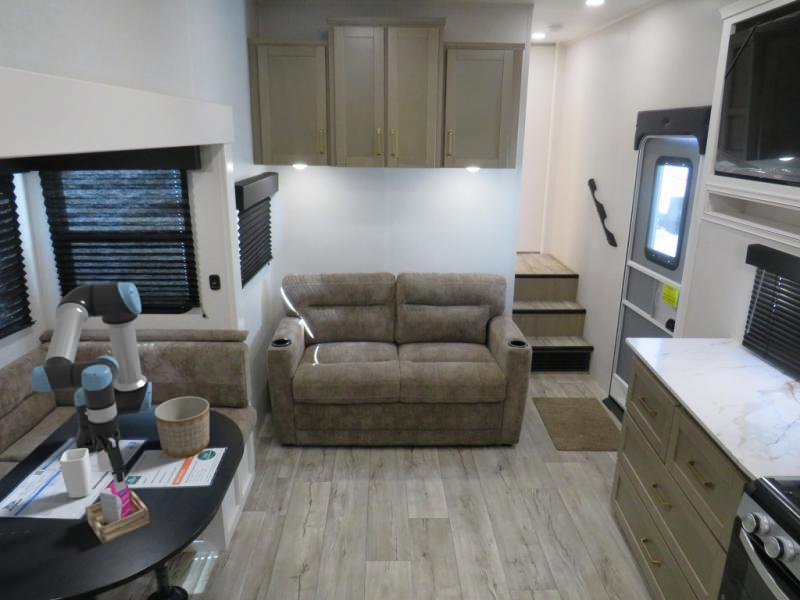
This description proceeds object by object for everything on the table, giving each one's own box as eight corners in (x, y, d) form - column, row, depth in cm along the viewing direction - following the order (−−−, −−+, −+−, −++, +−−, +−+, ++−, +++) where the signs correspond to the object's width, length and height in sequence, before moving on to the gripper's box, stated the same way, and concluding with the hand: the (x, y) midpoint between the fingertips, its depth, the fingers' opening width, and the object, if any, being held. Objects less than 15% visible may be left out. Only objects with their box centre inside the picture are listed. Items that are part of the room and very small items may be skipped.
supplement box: (120, 527, 166) (115, 495, 163) (103, 524, 168) (98, 492, 164) (133, 515, 172) (128, 484, 168) (116, 512, 173) (111, 481, 170)
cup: (95, 485, 187) (89, 447, 182) (90, 498, 180) (83, 459, 176) (71, 488, 185) (64, 450, 180) (65, 502, 178) (58, 462, 174)
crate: (87, 521, 170) (85, 507, 168) (132, 501, 179) (131, 488, 178) (102, 544, 161) (100, 529, 159) (149, 522, 170) (147, 508, 168)
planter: (190, 465, 199) (186, 424, 195) (147, 454, 205) (142, 415, 200) (222, 438, 217) (219, 401, 212) (182, 429, 223) (178, 392, 218)
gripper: (75, 405, 165) (85, 466, 171) (103, 439, 148) (114, 504, 155) (101, 397, 170) (110, 456, 177) (132, 429, 153) (141, 493, 160)
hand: (112, 479), depth 166 cm, fingers open, 13 cm apart
